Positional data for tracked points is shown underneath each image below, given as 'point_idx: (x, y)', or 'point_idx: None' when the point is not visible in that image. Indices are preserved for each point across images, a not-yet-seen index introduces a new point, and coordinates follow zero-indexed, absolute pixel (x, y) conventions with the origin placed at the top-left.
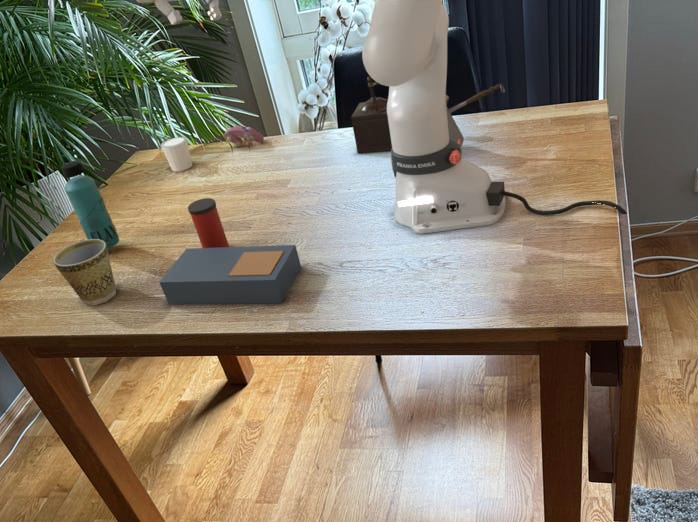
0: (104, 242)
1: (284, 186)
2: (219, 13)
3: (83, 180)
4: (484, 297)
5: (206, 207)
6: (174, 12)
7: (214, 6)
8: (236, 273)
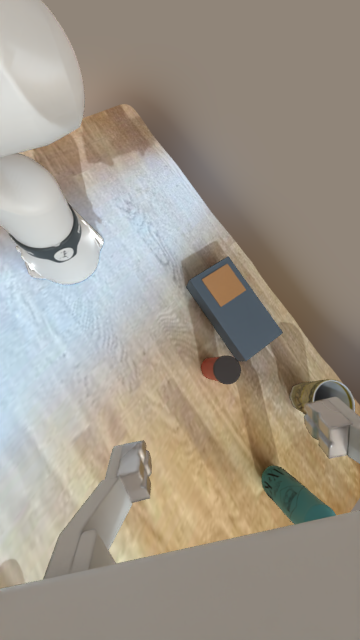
0: (313, 399)
1: (89, 431)
2: (122, 447)
3: (322, 517)
4: (145, 164)
5: (227, 358)
6: (350, 414)
7: (118, 487)
8: (241, 286)
